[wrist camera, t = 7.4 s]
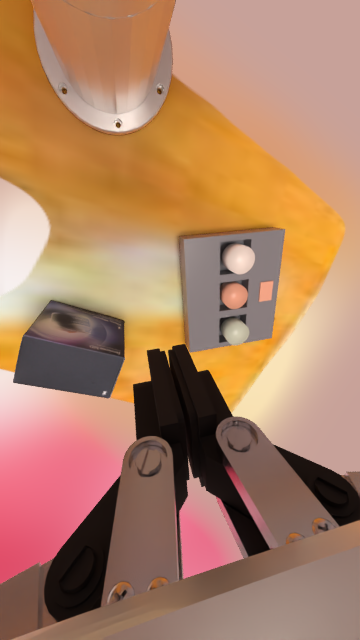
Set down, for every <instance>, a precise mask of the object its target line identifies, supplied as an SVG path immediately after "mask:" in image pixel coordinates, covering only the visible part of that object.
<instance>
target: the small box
mask: <svg viewBox="0 0 360 640" xmlns="http://www.w3.org/2000/svg"><path fill="white" fill-rule="evenodd" d="M124 360H125V357H124V321H123V320H119V319H116V318H112V317H109V316H105V315H102V314H98V313H94V312H91V311H87V310H84V309H80V308H77V307H73V306H70V305H66V304H63V303H59V302H56V301H52V300H51V301H50V302H49V304H48V305H47V306H46V307H45V309H44V310H43V311H42V313H41V314H40V315H39V317H38V318H37V319H36V320H35V322H34V323H33V324H32V325H31V327H30V328H29V329H28V330H27V332H26V333H25V334H24V335H23V337H22V341H21V345H20V350H19V355H18V360H17V365H16V370H15V375H14V380H13V382H14V383H18V384H25V385H31V386H37V387H43V388H49V389H55V390H61V391H67V392H73V393H79V394H85V395H92V396H97V397H104V398H110V397H111V394H112V391H113V389H114V386H115V384H116V381H117V378H118V376H119V373H120V370H121V368H122V365H123V362H124Z"/></svg>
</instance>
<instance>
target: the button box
mask: <svg viewBox="0 0 360 640" xmlns="http://www.w3.org/2000/svg"><path fill="white" fill-rule="evenodd" d="M284 234H285V229H280V228H273V227H272V228H262V229H251V230H241V231H230V232H220V233H209V234H199V235H189V236H179V247H180V263H181V279H182V295H183V311H184V327H185V343H186V345H187V347H188V349H189V352H196V351H201V350H207V349H213V348H218V347H224V346H229V345H231V344H230V343H229V342H228V341H227V340H226V339H225V337H224V336H223V335H222V333H221V325H222V323H223V322H224V321H225V320H226V319H227V318H230V317H237V318H239V319H240V320H241V321H242V322H243V323H244V324H245V325H246V326H247V327H248V328H249V336H248V338H247V340H246V341H245V342H244V343H246V342H252V341H257V340H263V339H269V338H272V330H273V322H274V314H275V306H276V298H277V290H278V282H279V274H280V266H281V258H282V250H283V242H284ZM233 243H239V244H242V245H245V246H248V247H250V248H251V249H252V250H253V252H254V254H255V262H254V265H253V266H252V268H251V269H250V270H249V271H248V272H246V273H244V274H235V273H234V272H232V271H230V270H229V269H227V268H226V267H225V266H224V265H223V263H222V253H223V251H224V249H225V248H226V247H227V246H228V245H230V244H233ZM231 281H236V282H237V283H239V284H240V285H242V286H243V287H245V288H246V290H247V292H248V298H247V301H246V302H245V304H244V305H243V306H242V307H240V308H238V309H230V308H228V307H227V306H226V305H225V304H224V303H223V302H222V301H221V300H220V286H221V285H222V284H223V283H224V282H231Z"/></svg>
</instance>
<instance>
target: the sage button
mask: <svg viewBox="0 0 360 640" xmlns="http://www.w3.org/2000/svg"><path fill="white" fill-rule="evenodd" d="M221 333H222V335H223V336H224V337H225V339H226V340H227V341H228V342H229V343H230V344H231V345H240V344H242V343H244V342H245V341H246V340H247V338H248V336H249V328H248V327H247V326H246V325H245V324H244V323H243V322H242V321H241V320H240V319H239V318H237V317H230V318H227V319H226V320H225V321H224V322H223V323H222V325H221Z"/></svg>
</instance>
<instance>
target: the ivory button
mask: <svg viewBox="0 0 360 640" xmlns="http://www.w3.org/2000/svg"><path fill="white" fill-rule="evenodd" d="M254 262H255V254H254V252H253V250H252V249H251V248H250V247H248V246H245V245H242V244H239V243H233V244H230V245H228V246H227V247H226V248H225V249H224V251H223V253H222V263H223V265H224V266H225V267H226V268H227V269H229V270H230V271H232V272H234V273H235V274H244V273H246V272H248V271H249V270H250V269H251V268H252V266H253V265H254Z"/></svg>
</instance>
